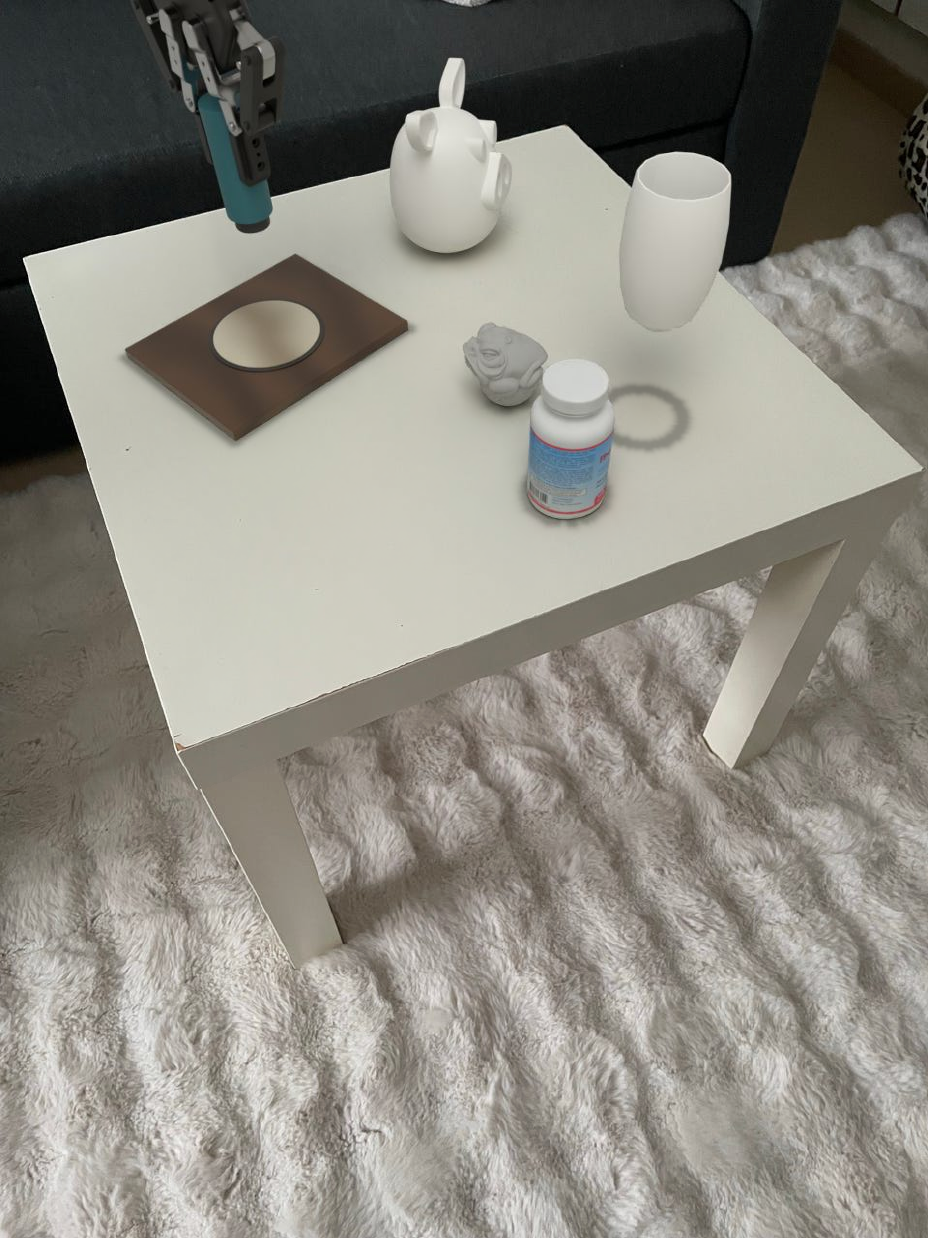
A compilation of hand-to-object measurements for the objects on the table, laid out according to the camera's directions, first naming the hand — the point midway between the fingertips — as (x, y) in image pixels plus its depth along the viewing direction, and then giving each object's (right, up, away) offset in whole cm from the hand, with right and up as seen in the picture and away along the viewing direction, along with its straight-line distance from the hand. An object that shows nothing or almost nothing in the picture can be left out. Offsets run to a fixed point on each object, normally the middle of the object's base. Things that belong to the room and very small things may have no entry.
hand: (239, 169), depth 66 cm
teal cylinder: (0, -2, +3) cm, 4 cm away
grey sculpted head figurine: (+19, -13, +13) cm, 27 cm away
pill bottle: (+24, -22, +7) cm, 33 cm away
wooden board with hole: (-2, -7, +18) cm, 20 cm away
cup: (+31, -15, +12) cm, 36 cm away
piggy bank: (+15, +6, +28) cm, 32 cm away
